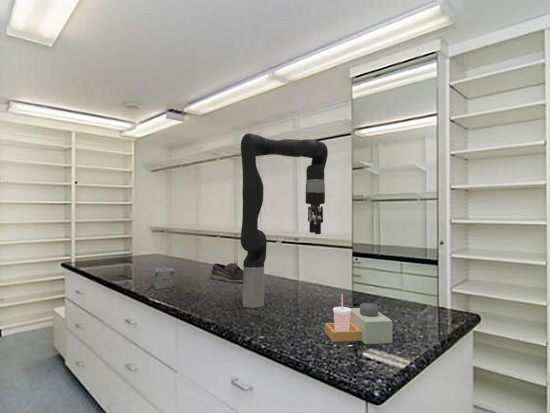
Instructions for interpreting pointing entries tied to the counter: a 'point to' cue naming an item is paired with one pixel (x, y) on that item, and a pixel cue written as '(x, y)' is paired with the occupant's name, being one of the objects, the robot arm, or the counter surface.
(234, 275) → the boat shoe
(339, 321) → the beverage cup
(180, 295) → the counter surface
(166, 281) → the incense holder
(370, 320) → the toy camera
